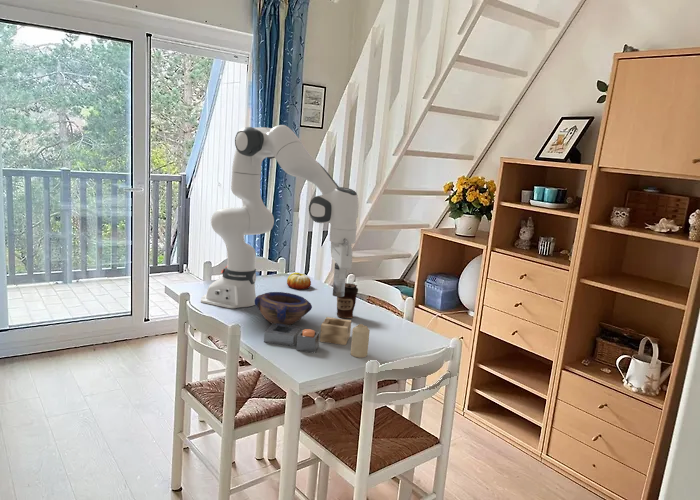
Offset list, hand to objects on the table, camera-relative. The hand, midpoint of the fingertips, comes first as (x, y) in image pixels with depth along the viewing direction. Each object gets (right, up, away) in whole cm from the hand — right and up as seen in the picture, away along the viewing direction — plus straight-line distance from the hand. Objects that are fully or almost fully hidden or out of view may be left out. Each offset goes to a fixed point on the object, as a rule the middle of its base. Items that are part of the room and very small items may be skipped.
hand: (339, 276), depth 181 cm
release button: (-10, -22, -6) cm, 25 cm away
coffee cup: (+2, -18, +30) cm, 35 cm away
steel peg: (-1, -7, +1) cm, 7 cm away
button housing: (-11, -23, -6) cm, 26 cm away
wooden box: (-2, -22, +5) cm, 23 cm away
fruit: (-21, -9, +67) cm, 71 cm away
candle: (+6, -25, -8) cm, 27 cm away
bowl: (-22, -18, +17) cm, 33 cm away
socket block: (-20, -21, 0) cm, 29 cm away
